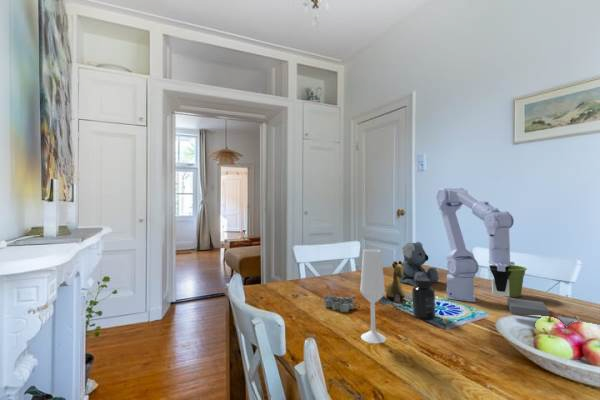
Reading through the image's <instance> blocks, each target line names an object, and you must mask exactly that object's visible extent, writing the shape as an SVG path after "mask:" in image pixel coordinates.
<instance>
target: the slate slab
mask: <svg viewBox="0 0 600 400" xmlns="http://www.w3.org/2000/svg"><path fill="white" fill-rule="evenodd" d="M506 298H507V301H506V303H507V304H506V305H507V308H508V310H509V312H510V314H512V315H518V316H524V315H541V316H549V317H550V310H549V309H548V308H547V306H546V305H545V303H544V302H543V301H538V300H536V301H535V300H530V299H529V300H528V299H519V298H514V297H511V298H510V297H506Z"/></svg>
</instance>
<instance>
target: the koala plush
mask: <svg viewBox="0 0 600 400" xmlns="http://www.w3.org/2000/svg"><path fill="white" fill-rule="evenodd" d="M401 249H402V250H401V251H402V254H403V262H402V263H403V264H404V265H403V266H402V267H403V276H402V278H399V281H400V283H402V284H409V285H411V286H413V287H415V286H416V285H415V279H416V278H427V279H430V280H431V284H432V283H433V284H436V283H438V282H439V273H438V270H437V268H436V267H429V268H428V269H427V270H425V268H424V266H422V265H424V264H425V263H426V261H427V262H428V261H429V255H428V254H427V253H426V251H425V249H424V247H423V243H422V242H421V241H416V242H406V243H404V245H403V246H402V247H401Z"/></svg>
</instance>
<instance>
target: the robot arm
mask: <svg viewBox="0 0 600 400" xmlns="http://www.w3.org/2000/svg"><path fill="white" fill-rule="evenodd" d="M435 197H436V198H435V199H436V202H437V206H438V208H439V211H440V214H441V217H442V222H443V225H444V228H445V233H446V236H447V239H448V244H449V247H450V251H451V252H450V253H449V254H448V255H447V256H446V260H447V263H446V265H447V266H446V267H447V270H448V271H449V273H448V274H446V295H447V296H446V299H448V300H455V301H463V302H471V303H475V302H476V295H475V285H474V284H475V283H474V281H475V277H476V274H477V273H478V272H479V269H480V267H479V262H478V261H477V260H476V258H475V255H474V253H473V252H471V251H470V250H468V249H467V248H466V243H465V240H464V237H463V236H464V235H463V233H462V229H461V226H460V224H459V219H458V217H457V211H458V210H460V209H461V207H462V206H463V205H465V206H466V207H467V208H469V209H470V210H471V212H472V215H474V216H475V217H477V218H478V219H480V220H482V221H483V223H484V226H485V228H486V233H487V234H488V254H489V256H488V257H489V259H488V264H489V267H488V268H489V271H490V273H491V274H492V277H494V280H495V285H496V289H497V291H502V292H505V290H506V285H507V280H508V278H509V276H510V274H511V271H508V270H509V265H515V262H514V261H511V251H510V249H511V247H510V245H511V244H510V240H511V239H510V229H511V228H512V227H513V225H514V217H513V215H512V214H511V213H510V212H509V211H501V210H499V208H498V207H494V206H493V205H491V204H489V201H486V200H481V201H478V200H477V199H476V198H474V197H473V196H472V195H471V194H469V193H468V190H467V189H465V188H463V187H459V188H457V187H456V188H453V187H451V188H450V187H449V188H445V187H441V188H439V189H438V192H437V193H436V196H435Z"/></svg>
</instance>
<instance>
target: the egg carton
mask: <svg viewBox="0 0 600 400" xmlns="http://www.w3.org/2000/svg"><path fill="white" fill-rule="evenodd" d="M322 298H323V302H324V303H323V306H324V305H325V306H324V308H326V307H328V308H331V307H332V308H331V309H332V310H333V311H335V310H337V311H338V310H339V311H340V312H341V313H344V312H345V313H346V312H350V310H354V309H355V302H354V301H355V300H356V297H355V296H347V297H346V296H344V297H342V296H334V295H329V296H328V295H327V296H323V297H322Z"/></svg>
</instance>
